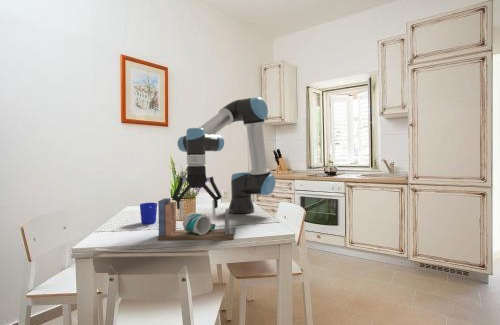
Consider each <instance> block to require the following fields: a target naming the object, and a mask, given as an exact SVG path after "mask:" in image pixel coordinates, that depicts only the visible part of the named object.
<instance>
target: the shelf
mask: <svg viewBox="0 0 500 325" xmlns="http://www.w3.org/2000/svg"><path fill="white" fill-rule="evenodd" d="M157 212H158V213H157V214H158V237H157V241H200V240H201V241H210V240H211V241H215V240H216V241H217V240H221V241H222V240H225V241H226V240H228V241H229V240H235V239H234V238H235V235H225V228H224V229H223V228H221V229H220V228H219V229H214V230H209V231H208V232H207V233H206V234H205V235H197V234H193V233H190V232H187V231H186V230H184V229H177V201H171V197H170V198H168V197H166V198H162V199H160V200H158V203H157Z"/></svg>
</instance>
